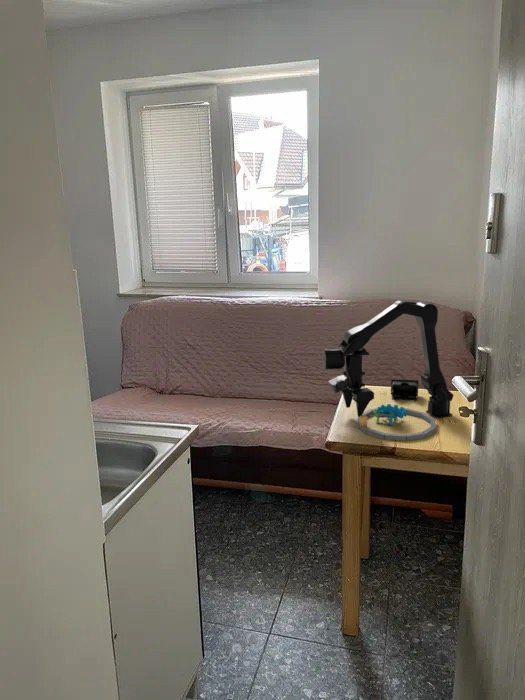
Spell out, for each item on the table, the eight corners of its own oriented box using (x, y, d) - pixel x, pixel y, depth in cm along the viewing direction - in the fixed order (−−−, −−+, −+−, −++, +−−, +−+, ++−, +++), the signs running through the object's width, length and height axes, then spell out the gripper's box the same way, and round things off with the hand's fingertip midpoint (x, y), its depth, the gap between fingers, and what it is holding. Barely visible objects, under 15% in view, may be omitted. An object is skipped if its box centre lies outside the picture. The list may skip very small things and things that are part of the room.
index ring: (409, 407, 194) (410, 395, 193) (451, 433, 170) (452, 420, 169) (344, 416, 187) (344, 404, 186) (378, 445, 164) (378, 431, 163)
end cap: (417, 394, 207) (418, 378, 205) (418, 401, 200) (418, 383, 199) (390, 393, 210) (391, 376, 208) (390, 399, 203) (390, 382, 201)
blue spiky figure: (410, 415, 182) (403, 402, 175) (409, 431, 180) (402, 418, 172) (378, 415, 188) (370, 402, 180) (376, 430, 185) (368, 418, 177)
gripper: (321, 363, 186) (321, 405, 190) (342, 378, 169) (342, 425, 173) (350, 360, 189) (350, 402, 193) (375, 374, 172) (374, 420, 175)
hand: (353, 411), depth 183 cm, fingers open, 9 cm apart
